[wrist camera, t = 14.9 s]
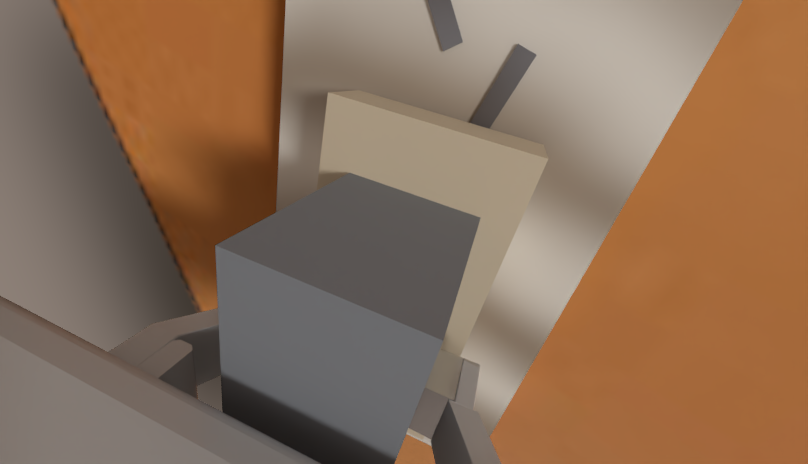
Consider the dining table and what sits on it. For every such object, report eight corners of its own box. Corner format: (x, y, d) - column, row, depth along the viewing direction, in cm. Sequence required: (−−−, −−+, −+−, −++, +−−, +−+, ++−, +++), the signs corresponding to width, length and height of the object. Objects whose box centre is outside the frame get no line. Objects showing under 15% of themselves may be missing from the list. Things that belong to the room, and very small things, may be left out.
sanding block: (434, 399, 15) (376, 606, 9) (319, 347, 16) (200, 503, 10) (544, 144, 10) (577, 250, 4) (359, 89, 11) (151, 103, 5)
